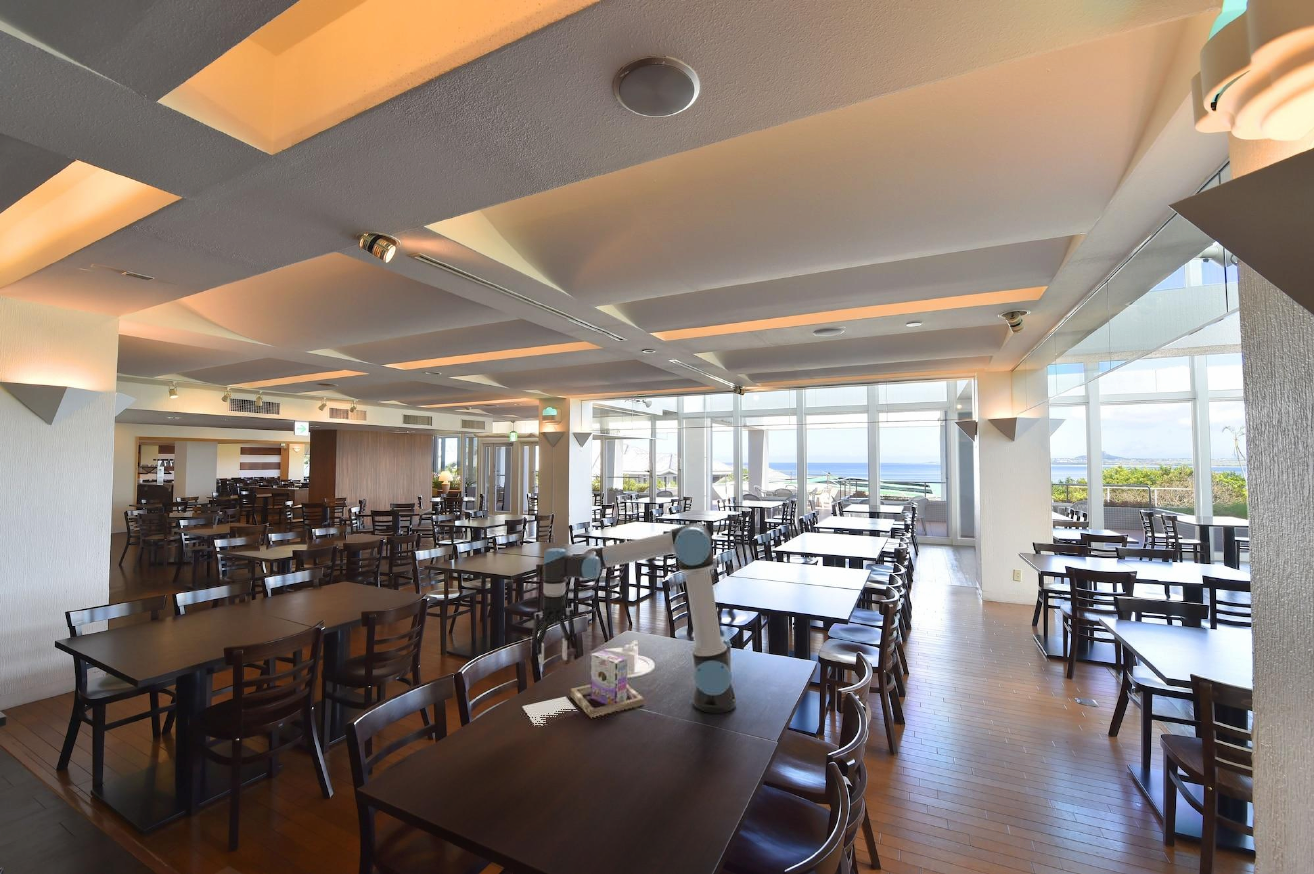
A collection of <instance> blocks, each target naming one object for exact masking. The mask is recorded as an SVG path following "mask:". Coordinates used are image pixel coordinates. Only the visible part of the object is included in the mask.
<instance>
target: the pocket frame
mask: <svg viewBox="0 0 1314 874" xmlns="http://www.w3.org/2000/svg"><path fill="white" fill-rule="evenodd" d="M588 695H591V684H587V685H582V686H577V687H574V688H573V687H572V688H570V698H572V699H573V700H574V701H575V702H576V704H577V705H578V706H579V707H580V708H581V709H582V710H583V712H585V713H586V714H587V716H588V717H589V718H590V717H591V718H590V719H593V718H592V717H594V718H597V717H596V716H598V717H600V716H599V715H602V716H605V715H604V714H606V713H610V714H613V713H612V712H614V713H616V712H615V711H618V712H621V710H622V711H625V710H624V709H626V710H629V708H630V709H633V708H632V707H634V708H637V707H641V705H642V706H644V705H645V699H644V697H643V696H642V695H640V694H639V693H638V692H637V691H636V690H635V689H633V688H632V687H631V686H630V685H629V684H627V697H629V698H630V699H627V701H623V702H618V703H614V704H610V705H606V704H605V705H602V706H599V707H593V706H592V705H591V704H590V703H589V702H588V701H587V700H586V698H585V697H584V696H588ZM606 715H607V714H606Z"/></svg>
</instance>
